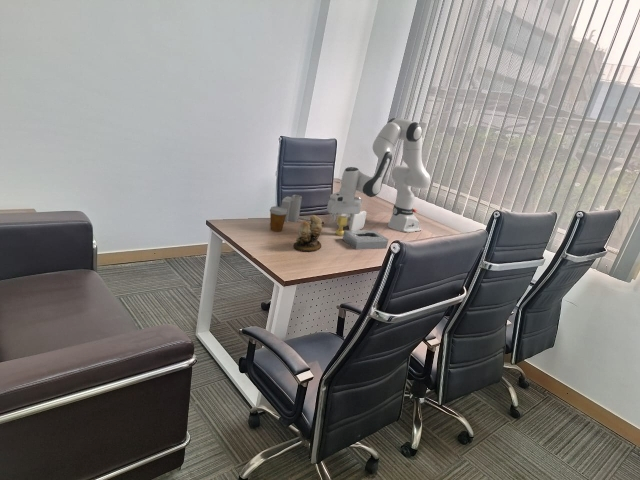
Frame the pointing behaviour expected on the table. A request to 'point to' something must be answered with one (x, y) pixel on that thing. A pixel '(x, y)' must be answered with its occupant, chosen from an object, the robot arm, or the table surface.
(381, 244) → the keyhole plate
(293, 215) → the electronic device
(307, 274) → the table surface
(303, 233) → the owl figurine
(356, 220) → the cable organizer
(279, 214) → the disposable coffee cup
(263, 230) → the table surface
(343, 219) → the peg
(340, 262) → the table surface
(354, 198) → the robot arm
